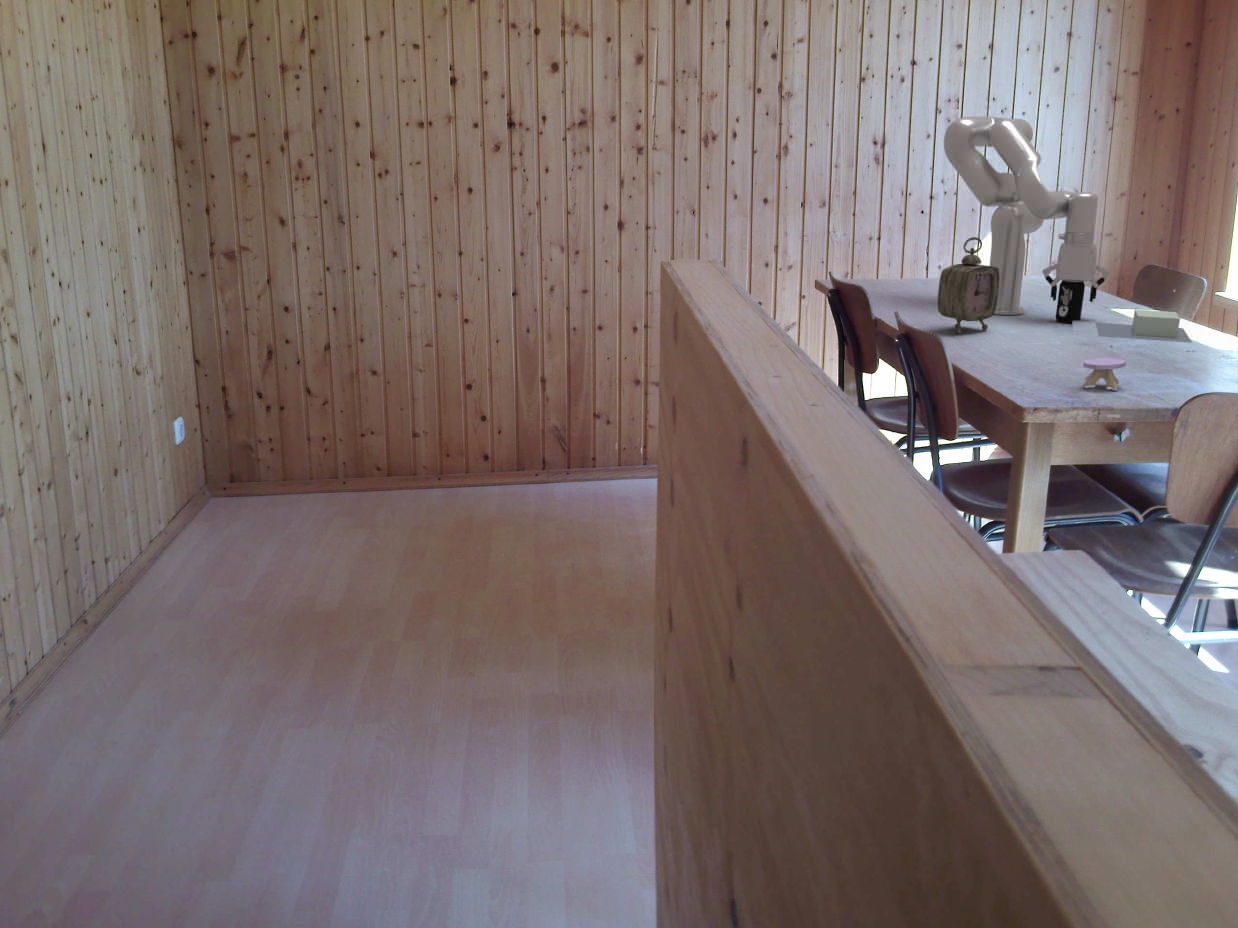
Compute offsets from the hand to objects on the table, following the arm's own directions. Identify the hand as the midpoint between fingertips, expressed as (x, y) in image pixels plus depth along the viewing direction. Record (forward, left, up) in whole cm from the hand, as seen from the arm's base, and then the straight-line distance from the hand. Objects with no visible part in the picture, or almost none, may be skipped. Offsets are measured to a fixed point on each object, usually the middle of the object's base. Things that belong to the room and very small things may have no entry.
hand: (1072, 300), depth 315 cm
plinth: (+20, -14, -5) cm, 25 cm away
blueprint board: (+17, -14, -6) cm, 23 cm away
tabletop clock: (-28, -24, -6) cm, 37 cm away
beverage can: (-1, 0, -6) cm, 6 cm away
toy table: (+5, -78, -6) cm, 78 cm away
